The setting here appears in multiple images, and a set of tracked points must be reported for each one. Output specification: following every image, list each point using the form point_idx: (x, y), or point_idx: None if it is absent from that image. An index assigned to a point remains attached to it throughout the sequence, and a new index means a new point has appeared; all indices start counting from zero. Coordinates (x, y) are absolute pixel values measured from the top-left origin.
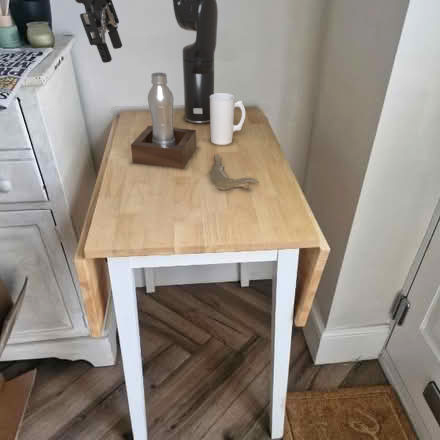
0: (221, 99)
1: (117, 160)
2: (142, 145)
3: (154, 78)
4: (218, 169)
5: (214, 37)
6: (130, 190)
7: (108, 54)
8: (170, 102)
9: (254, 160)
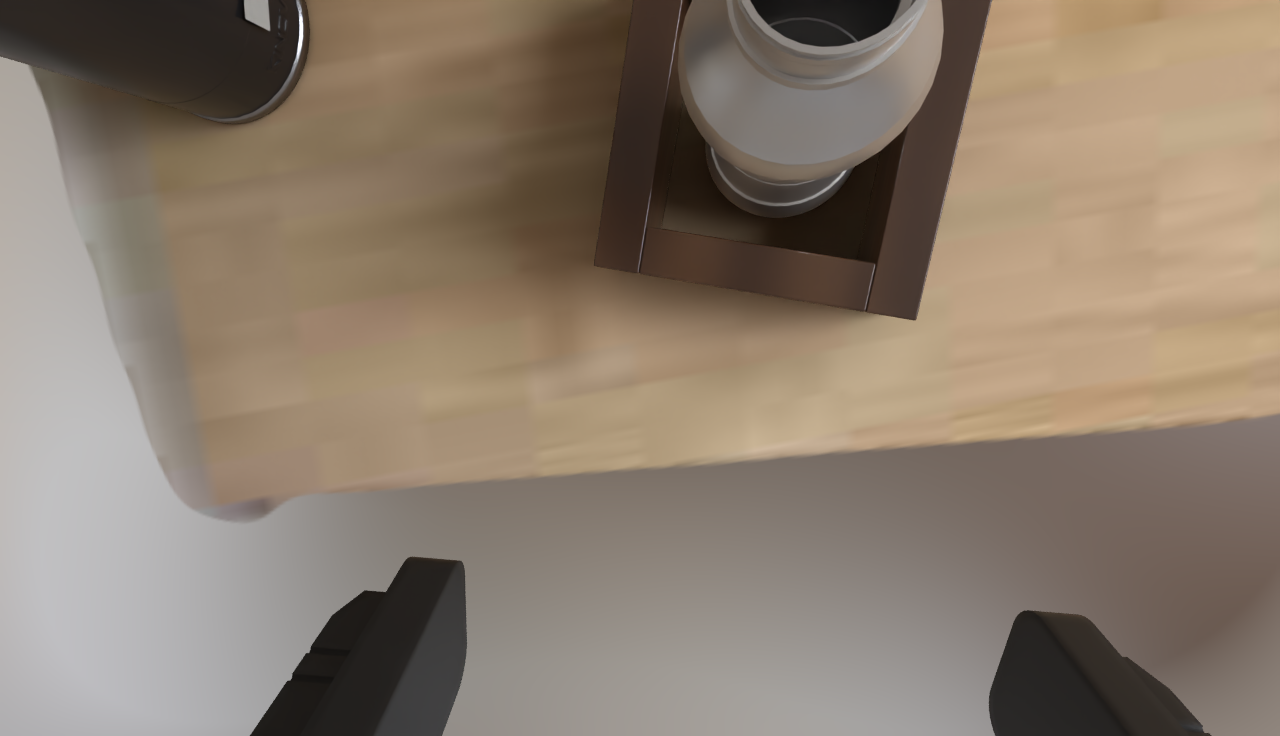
0: None
1: (852, 402)
2: (932, 242)
3: (923, 3)
4: None
5: None
6: (1235, 263)
7: (1148, 696)
8: None
9: None
